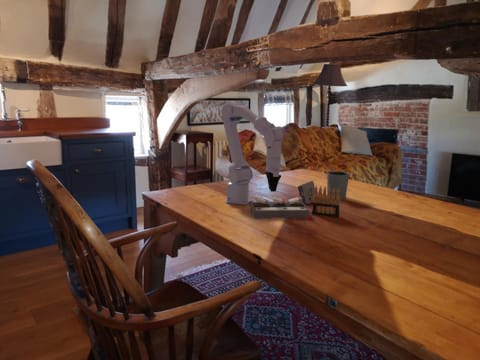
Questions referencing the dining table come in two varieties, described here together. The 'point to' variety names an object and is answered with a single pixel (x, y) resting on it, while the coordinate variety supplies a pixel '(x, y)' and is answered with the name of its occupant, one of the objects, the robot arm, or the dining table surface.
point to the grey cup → (338, 182)
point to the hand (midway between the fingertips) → (272, 190)
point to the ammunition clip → (326, 203)
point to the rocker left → (261, 200)
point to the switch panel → (279, 210)
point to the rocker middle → (278, 200)
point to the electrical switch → (307, 192)
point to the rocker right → (295, 200)
